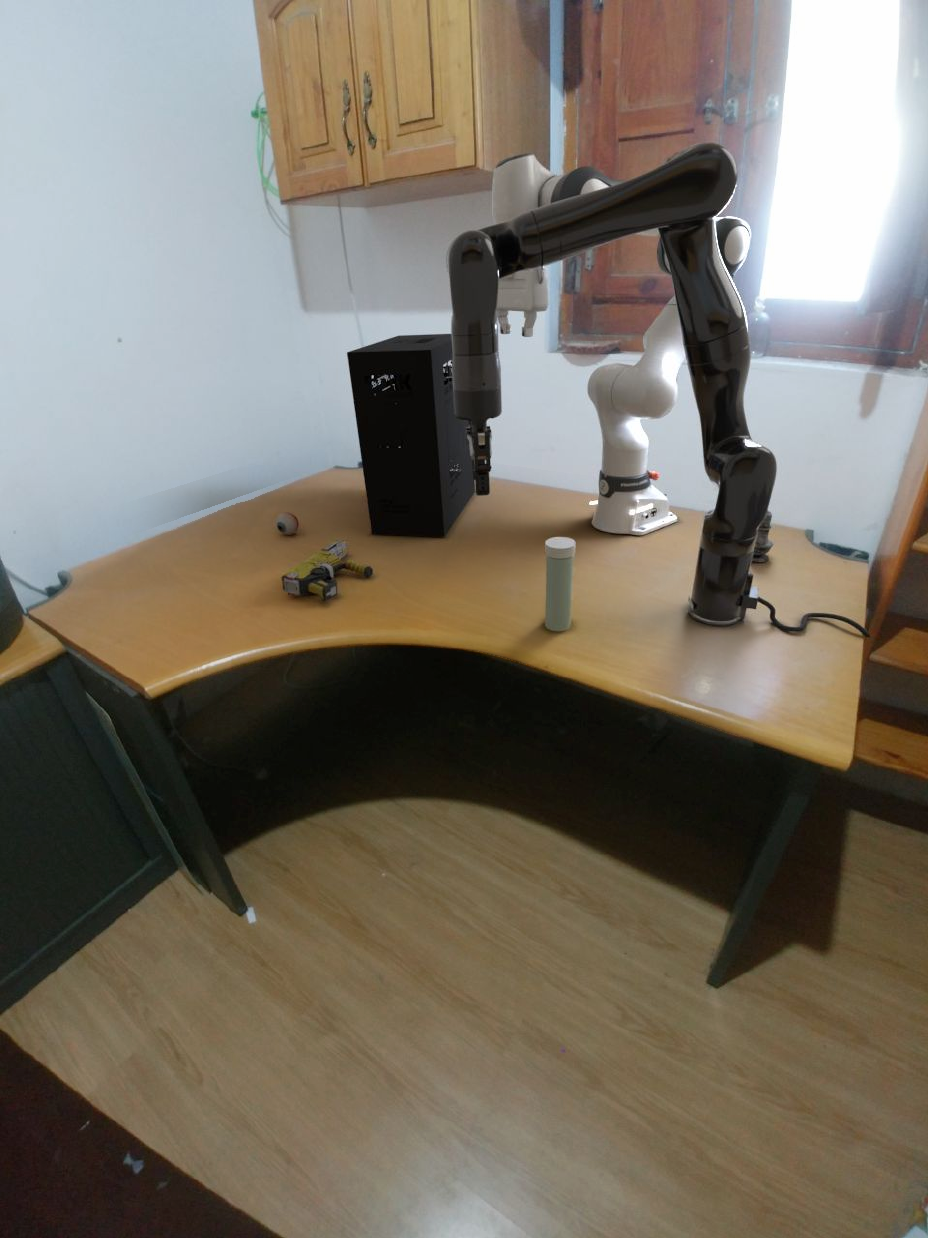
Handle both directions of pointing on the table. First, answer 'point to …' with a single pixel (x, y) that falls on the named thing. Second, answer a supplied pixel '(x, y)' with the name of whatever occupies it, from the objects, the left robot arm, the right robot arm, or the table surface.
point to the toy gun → (321, 572)
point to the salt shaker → (763, 540)
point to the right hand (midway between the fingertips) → (481, 486)
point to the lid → (560, 547)
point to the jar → (558, 593)
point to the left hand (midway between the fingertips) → (516, 335)
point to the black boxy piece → (410, 435)
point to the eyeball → (287, 523)
